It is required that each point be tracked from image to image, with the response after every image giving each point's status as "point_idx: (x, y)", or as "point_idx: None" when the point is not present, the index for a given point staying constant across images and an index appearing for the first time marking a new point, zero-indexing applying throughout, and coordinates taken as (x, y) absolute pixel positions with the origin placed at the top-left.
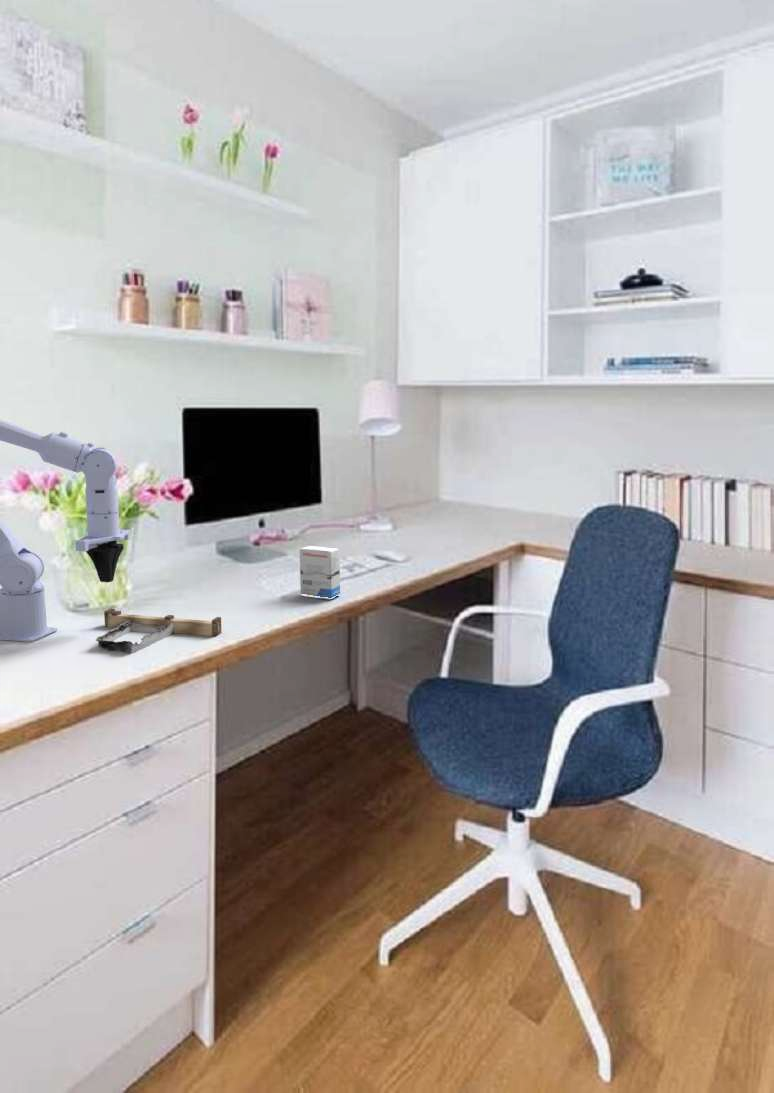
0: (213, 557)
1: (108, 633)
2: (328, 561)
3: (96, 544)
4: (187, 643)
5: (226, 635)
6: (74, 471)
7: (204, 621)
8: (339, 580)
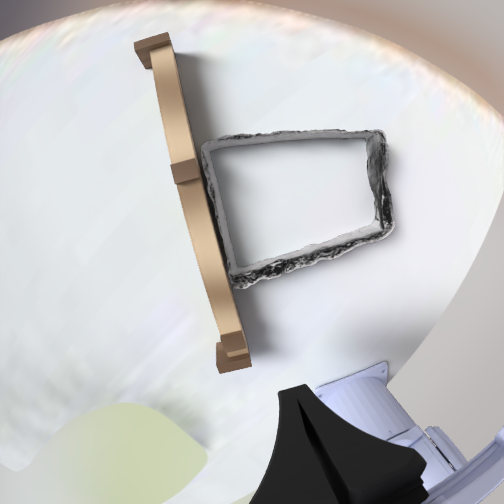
0: None
1: (344, 246)
2: None
3: (429, 502)
4: (250, 71)
5: None
6: None
7: (160, 71)
8: None
